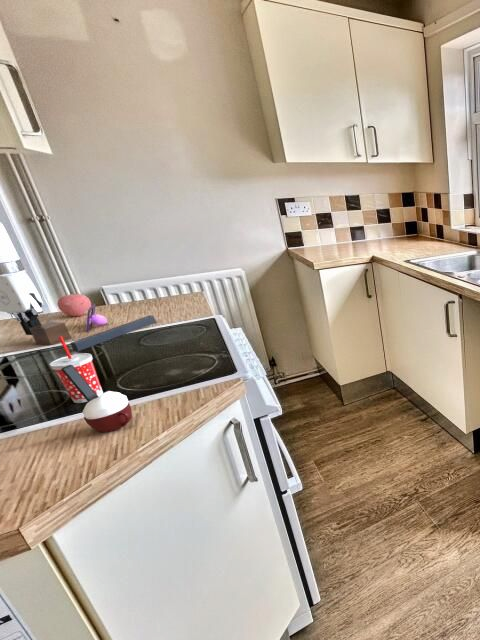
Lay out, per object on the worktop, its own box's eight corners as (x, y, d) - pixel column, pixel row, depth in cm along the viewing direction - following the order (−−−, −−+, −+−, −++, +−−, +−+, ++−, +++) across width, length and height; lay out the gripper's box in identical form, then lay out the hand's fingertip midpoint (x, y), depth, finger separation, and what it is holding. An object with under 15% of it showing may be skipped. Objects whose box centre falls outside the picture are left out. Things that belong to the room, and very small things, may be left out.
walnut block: (36, 344, 116) (28, 328, 114) (57, 338, 120) (50, 321, 118) (51, 345, 115) (43, 328, 113) (72, 338, 119) (64, 322, 118)
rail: (73, 351, 111) (69, 342, 110) (152, 322, 131) (149, 315, 130) (78, 351, 111) (74, 343, 110) (156, 323, 131) (153, 315, 130)
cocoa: (142, 426, 78) (118, 368, 73) (97, 443, 73) (68, 382, 69) (128, 410, 83) (104, 355, 79) (85, 425, 79) (57, 367, 74)
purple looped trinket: (90, 302, 129) (84, 310, 122) (113, 305, 132) (108, 312, 125) (88, 323, 130) (82, 332, 123) (111, 325, 133) (107, 333, 127)
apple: (101, 312, 141) (91, 289, 138) (76, 320, 135) (66, 296, 131) (83, 311, 142) (73, 288, 139) (58, 319, 136) (47, 295, 133)
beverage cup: (77, 394, 90) (48, 333, 84) (113, 388, 92) (87, 328, 86) (62, 408, 84) (30, 344, 79) (100, 402, 86) (71, 339, 81)
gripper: (-39, 271, 108) (-3, 337, 116) (7, 272, 106) (41, 339, 113) (-2, 265, 115) (30, 327, 122) (42, 265, 113) (72, 329, 120)
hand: (35, 333), depth 118 cm, fingers closed
